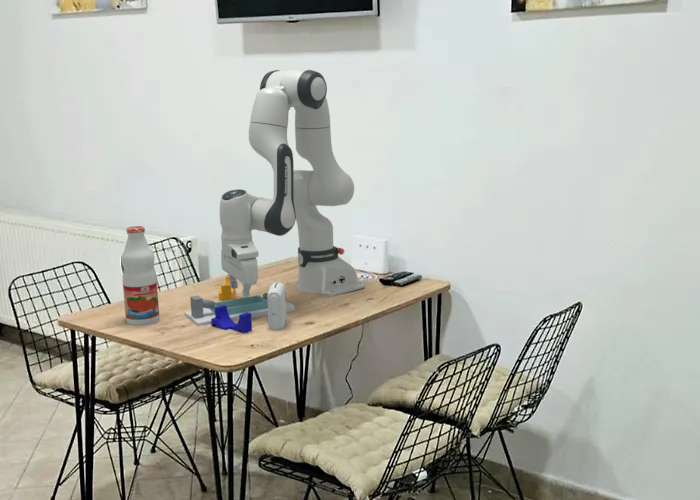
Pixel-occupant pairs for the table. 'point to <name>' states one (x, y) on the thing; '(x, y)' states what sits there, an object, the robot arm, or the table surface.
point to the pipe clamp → (226, 291)
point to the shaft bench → (229, 308)
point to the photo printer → (276, 306)
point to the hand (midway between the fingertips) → (240, 292)
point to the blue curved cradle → (225, 322)
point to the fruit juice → (139, 279)
